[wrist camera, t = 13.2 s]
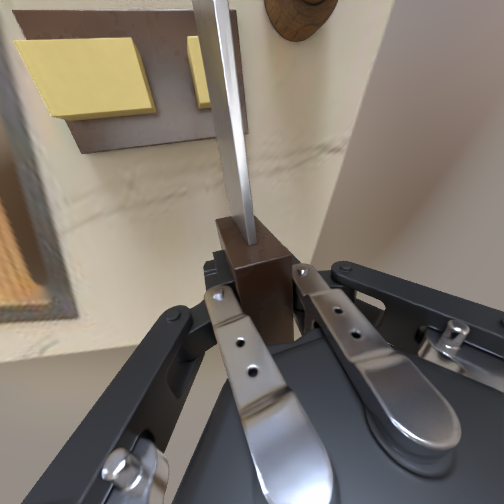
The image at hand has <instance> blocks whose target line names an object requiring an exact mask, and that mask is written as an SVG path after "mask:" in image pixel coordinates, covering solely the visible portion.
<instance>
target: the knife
mask: <svg viewBox="0 0 504 504" xmlns="http://www.w3.org/2000/svg"><path fill="white" fill-rule="evenodd" d="M192 4H193V10H194V15H195V21H196V26H197V32H198V37H199V43H200V49H201V54H202V60H203V65H204V71H205V76H206V82H207V88H208V93H209V99H210V104H211V110H212V115H213V121H214V127H215V132H216V138H217V143H218V149H219V154H220V160H221V165H222V171H223V177H224V182H225V188H226V193H227V199H228V204H229V210H230V217H225V218H220V219H216V220H215V221H216V226H217V230H218V235H219V239H220V244H221V248H222V250H223V252H224V255H225V258H226V261H227V264H228V267H229V270H230V273H231V276H232V279H233V282H234V287H235V292H236V296H237V300H238V302H239V304H240V306H241V308H242V310H243V312H244V313H248V315H249V316H250V318H251V320H252V322H253V323H254V325H255V327H256V329H257V331H258V333H259V334H260V336H261V338H262V340H263V342H264V343H265V345H269V344H280V343H291V342H294V328H293V327H294V326H293V274H292V254H291V253H290V252H289V251H288V250H287V249H286V248H285V247H284V246H283V245H282V244H281V242H280V241H279V240H278V239H277V238H276V237H275V236H274V235H273V234H272V233H271V232H270V231H269V230H268V229H267V228H266V227H265V226H264V225H263V224H262V223H261V222H260V221H259V220H258V219H257V218H256V217H255V216H254V214H253V205H252V197H251V189H250V180H249V172H248V163H247V155H246V146H245V138H244V129H243V121H242V113H241V104H240V96H239V87H238V79H237V70H236V62H235V54H234V45H233V37H232V28H231V20H230V11H229V3H228V0H192Z"/></svg>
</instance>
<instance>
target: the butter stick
mask: <svg viewBox="0 0 504 504" xmlns="http://www.w3.org/2000/svg"><path fill="white" fill-rule="evenodd" d="M13 42H14V44H15V46H16V48H17V50H18V52H19V54H20V56H21V58H22V60H23V62H24V64H25V66H26V68H27V70H28V72H29V74H30V76H31V78H32V79H33V81H34V83H35V85H36V87H37V89H38V91H39V93H40V95H41V97H42V99H43V101H44V103H45V105H46V107H47V109H48V111H49V113H50V115H51V116H52V117H56V118H60V119H65V120H70V121H77V120H87V119H98V118H109V117H119V116H130V115H141V114H151V113H157V111H156V107H155V104H154V100H153V97H152V94H151V90H150V87H149V83H148V80H147V76H146V73H145V69H144V66H143V62H142V59H141V55H140V53H139V51H138V49H137V48H136V46H135V44H134V42H133V40H132V38H95V39H56V40H18V41H13Z"/></svg>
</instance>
